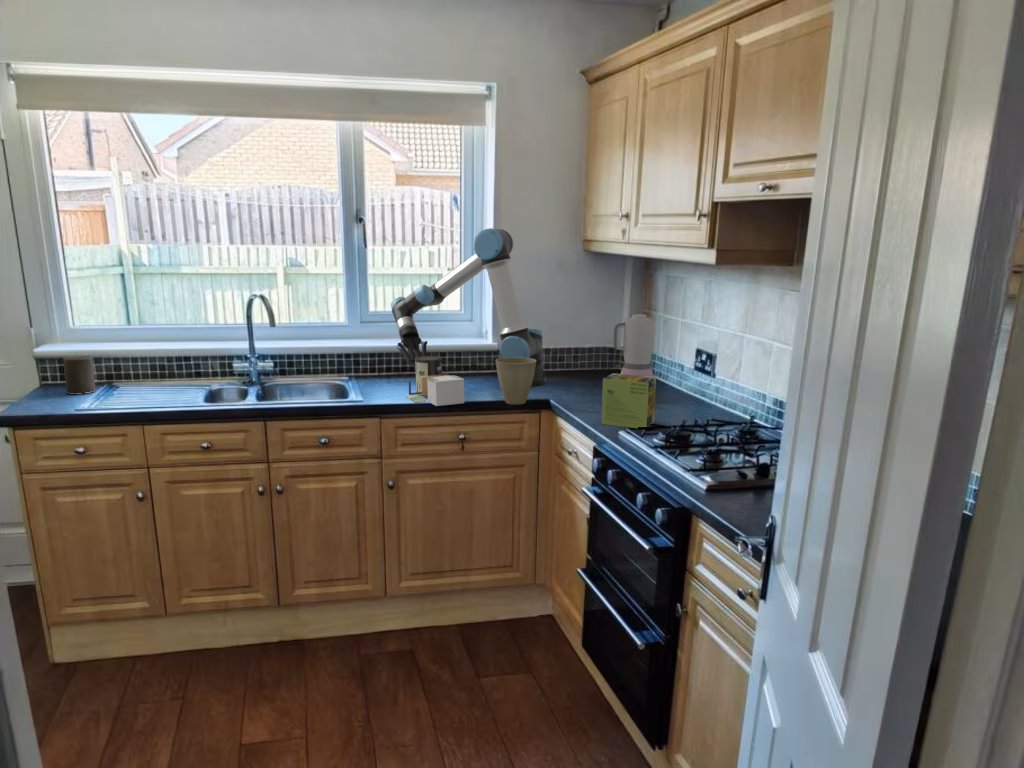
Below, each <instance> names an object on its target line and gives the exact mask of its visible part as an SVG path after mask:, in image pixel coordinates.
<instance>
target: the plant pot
mask: <svg viewBox="0 0 1024 768" xmlns="http://www.w3.org/2000/svg"><path fill="white" fill-rule="evenodd" d="M495 366H496V373H497V378H498V383H499V387H500V391H501V393H502V396H503V399H504V402H505V403H506V404H508V405H517V406H518V405H524V404H526V402H527V399H528V396H529V394H530V391H531V388H532V386H531V385H532V381H533V377H534V372H535V366H536V360H535V359H531V358H523V357H508V358H502V357H501V358H500V357H499V358H496V359H495Z"/></svg>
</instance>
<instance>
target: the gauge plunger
mask: <svg viewBox="0 0 1024 768" xmlns="http://www.w3.org/2000/svg"><path fill="white" fill-rule="evenodd" d="M440 376H450V375H449V374H447V373H446V374H442V375H435V376H424V377H420V387H421V392H412V382H411V381H408V395H415V394H416V395H417V394H421V395H422V396H421V397H424V396H423V395H428V386H427V378H429V377H440Z"/></svg>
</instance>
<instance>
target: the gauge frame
mask: <svg viewBox="0 0 1024 768" xmlns="http://www.w3.org/2000/svg"><path fill="white" fill-rule="evenodd" d="M427 386H428V396H427V402H428V403H430V404H432V405H434V406H435V407H439V406H448V405H449V406H450V405H459V404H465V378H462V377H460V376H457V375H454V374H453V375H449V376H440V377H429V378H427ZM405 398H406V399H408V400H409V401H411V402H412V403H415V404H416V403H424V402H426V399H425V398H424V397H423V396H420V395H417V394H415V395H409V394H406V395H405Z"/></svg>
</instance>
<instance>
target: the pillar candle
mask: <svg viewBox="0 0 1024 768" xmlns="http://www.w3.org/2000/svg"><path fill="white" fill-rule="evenodd" d="M62 360H63V371H64V372H63V373H64V379H65V380H64V381H65V390H66V391H67V392H69V393H85V392H90V391H94V390H95V389H96V382H95V379H96V378H95V371H94V362H93V361H94V360H93V356H89V355H88V356H87V355H86V356H85V355H76V356H75V355H74V356H67V357H63V359H62ZM67 392H66V393H67Z"/></svg>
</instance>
